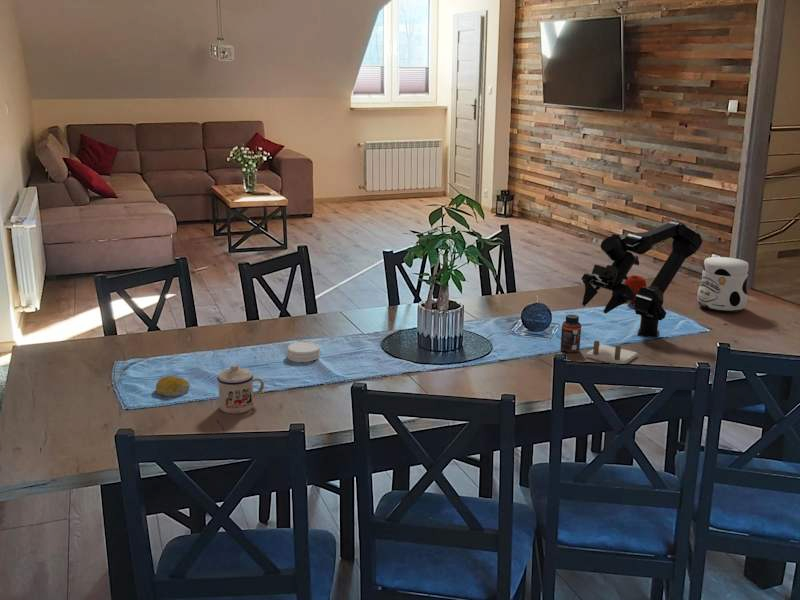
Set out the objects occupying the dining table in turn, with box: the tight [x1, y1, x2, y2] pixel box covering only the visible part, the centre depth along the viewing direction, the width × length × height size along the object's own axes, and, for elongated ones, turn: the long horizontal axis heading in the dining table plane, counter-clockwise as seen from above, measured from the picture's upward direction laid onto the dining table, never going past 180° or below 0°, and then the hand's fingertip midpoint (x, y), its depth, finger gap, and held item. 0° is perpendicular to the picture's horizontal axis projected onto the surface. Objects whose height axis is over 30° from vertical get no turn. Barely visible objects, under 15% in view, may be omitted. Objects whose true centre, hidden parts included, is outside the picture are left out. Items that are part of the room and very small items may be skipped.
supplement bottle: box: [560, 313, 582, 354], centre depth 253 cm, size 6×6×11 cm
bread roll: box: [155, 375, 190, 398], centre depth 220 cm, size 8×9×4 cm
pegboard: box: [585, 340, 638, 364], centre depth 249 cm, size 11×12×5 cm
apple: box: [623, 274, 647, 304], centre depth 304 cm, size 9×8×11 cm
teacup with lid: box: [216, 364, 265, 415], centre depth 209 cm, size 12×9×12 cm
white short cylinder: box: [286, 341, 321, 363], centre depth 246 cm, size 10×10×4 cm
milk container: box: [696, 256, 750, 313], centre depth 297 cm, size 17×17×18 cm
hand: (593, 308), depth 254 cm, fingers open, 9 cm apart
